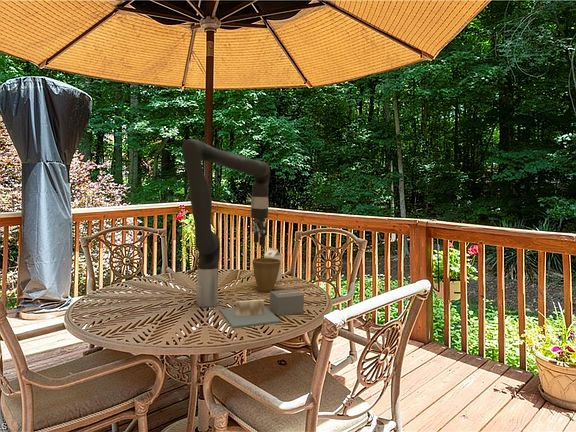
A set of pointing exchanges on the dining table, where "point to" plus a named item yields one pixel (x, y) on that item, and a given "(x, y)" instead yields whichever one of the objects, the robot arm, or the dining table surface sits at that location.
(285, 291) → the grey rectangular block
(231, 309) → the mat
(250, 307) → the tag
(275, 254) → the milk carton
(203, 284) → the robot arm
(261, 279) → the plant pot
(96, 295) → the dining table surface
